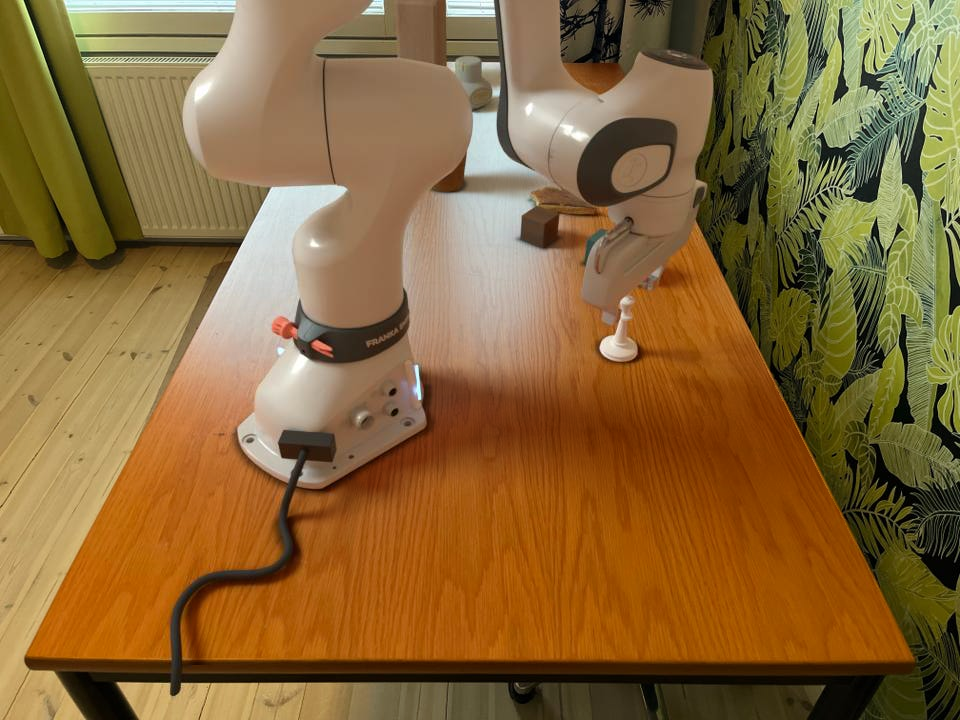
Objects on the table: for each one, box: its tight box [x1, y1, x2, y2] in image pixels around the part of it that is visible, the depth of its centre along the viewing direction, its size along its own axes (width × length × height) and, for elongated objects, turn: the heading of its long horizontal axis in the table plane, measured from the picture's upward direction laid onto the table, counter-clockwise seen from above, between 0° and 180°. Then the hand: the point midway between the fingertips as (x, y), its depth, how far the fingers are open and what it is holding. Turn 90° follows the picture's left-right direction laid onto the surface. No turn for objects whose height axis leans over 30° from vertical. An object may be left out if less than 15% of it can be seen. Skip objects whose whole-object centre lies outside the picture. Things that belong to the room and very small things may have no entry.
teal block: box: [583, 227, 609, 265], centre depth 110 cm, size 4×4×4 cm
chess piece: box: [599, 290, 638, 363], centre depth 91 cm, size 5×5×10 cm
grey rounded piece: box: [454, 55, 494, 110], centre depth 160 cm, size 11×8×10 cm
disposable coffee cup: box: [431, 151, 468, 193], centre depth 128 cm, size 10×10×12 cm
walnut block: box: [519, 205, 561, 249], centre depth 115 cm, size 4×4×4 cm
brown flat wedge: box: [528, 186, 598, 215], centre depth 124 cm, size 11×8×2 cm
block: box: [394, 0, 448, 67], centre depth 168 cm, size 10×10×20 cm
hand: (630, 304), depth 88 cm, fingers open, 8 cm apart
